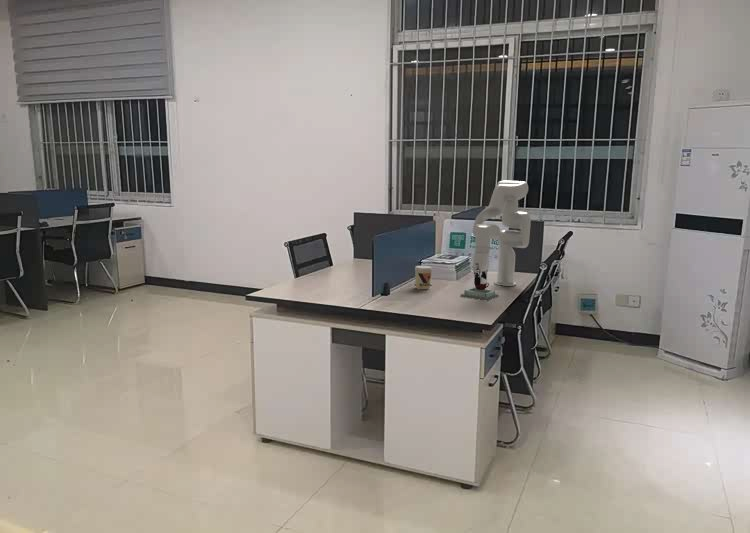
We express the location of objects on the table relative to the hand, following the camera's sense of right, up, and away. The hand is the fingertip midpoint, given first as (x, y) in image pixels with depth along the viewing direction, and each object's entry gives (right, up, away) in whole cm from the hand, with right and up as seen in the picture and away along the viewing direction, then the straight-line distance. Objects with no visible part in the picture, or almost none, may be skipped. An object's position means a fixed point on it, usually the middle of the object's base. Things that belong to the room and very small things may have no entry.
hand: (480, 283), depth 302 cm
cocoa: (0, -3, 0) cm, 3 cm away
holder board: (0, -7, +1) cm, 7 cm away
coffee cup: (-29, -3, +18) cm, 34 cm away
